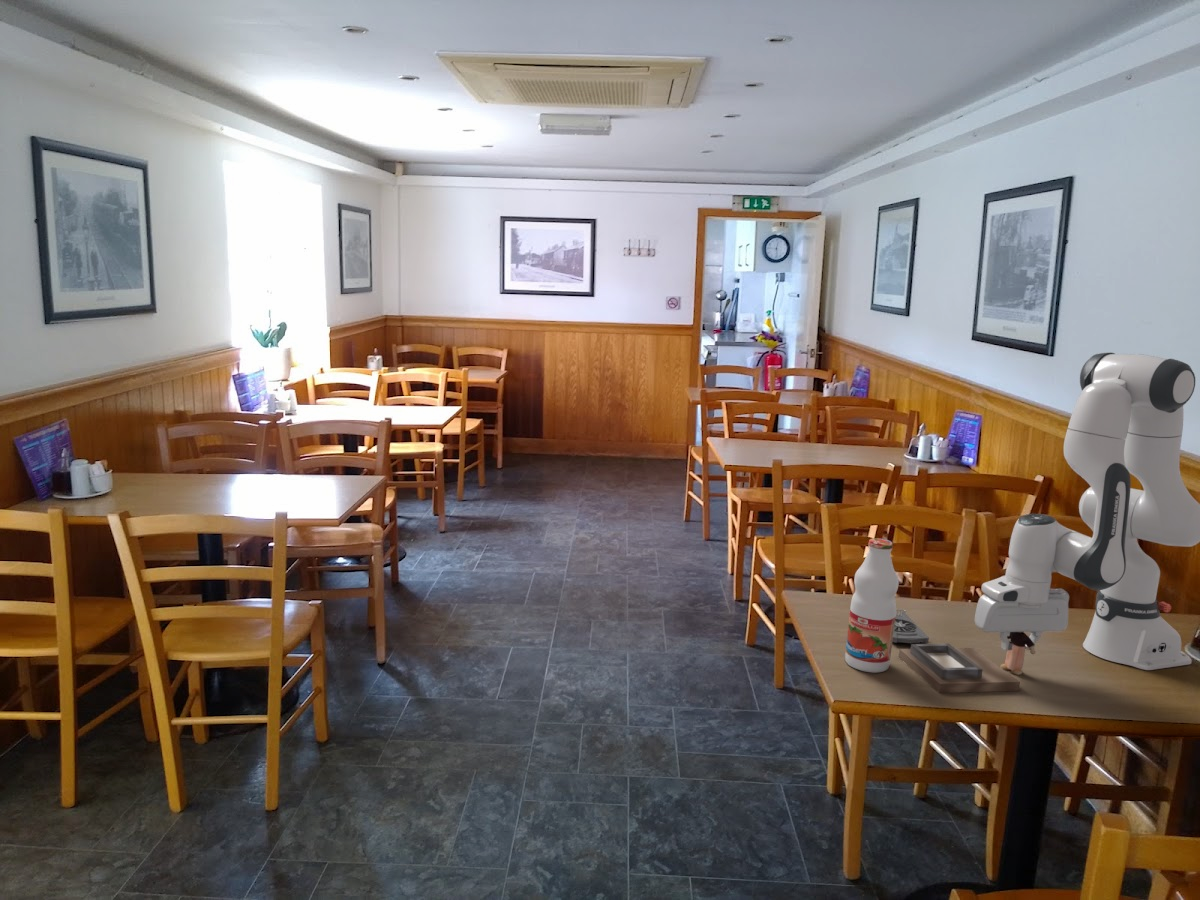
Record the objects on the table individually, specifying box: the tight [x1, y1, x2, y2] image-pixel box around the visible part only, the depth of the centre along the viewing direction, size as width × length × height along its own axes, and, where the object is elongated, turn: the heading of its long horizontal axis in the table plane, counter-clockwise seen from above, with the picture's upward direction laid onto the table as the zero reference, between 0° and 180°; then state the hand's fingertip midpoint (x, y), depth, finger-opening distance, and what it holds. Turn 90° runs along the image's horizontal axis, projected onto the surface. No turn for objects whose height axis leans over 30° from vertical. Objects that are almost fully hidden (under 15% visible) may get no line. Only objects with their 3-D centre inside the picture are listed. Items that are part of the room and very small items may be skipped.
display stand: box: [898, 643, 1021, 694], centre depth 186 cm, size 18×17×4 cm
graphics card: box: [892, 609, 930, 644], centre depth 207 cm, size 17×4×12 cm
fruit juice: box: [844, 537, 899, 674], centre depth 186 cm, size 9×9×28 cm
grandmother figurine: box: [999, 632, 1036, 676], centre depth 188 cm, size 8×4×13 cm, turn 43°
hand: (1017, 649), depth 188 cm, fingers open, 4 cm apart
